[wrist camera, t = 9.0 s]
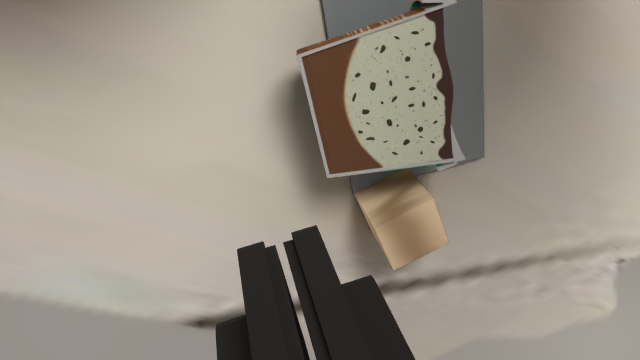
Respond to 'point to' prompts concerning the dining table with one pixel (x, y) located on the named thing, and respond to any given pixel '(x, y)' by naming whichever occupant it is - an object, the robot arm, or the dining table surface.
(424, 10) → the food container
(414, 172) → the mat
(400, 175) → the oak block
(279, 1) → the dining table surface
